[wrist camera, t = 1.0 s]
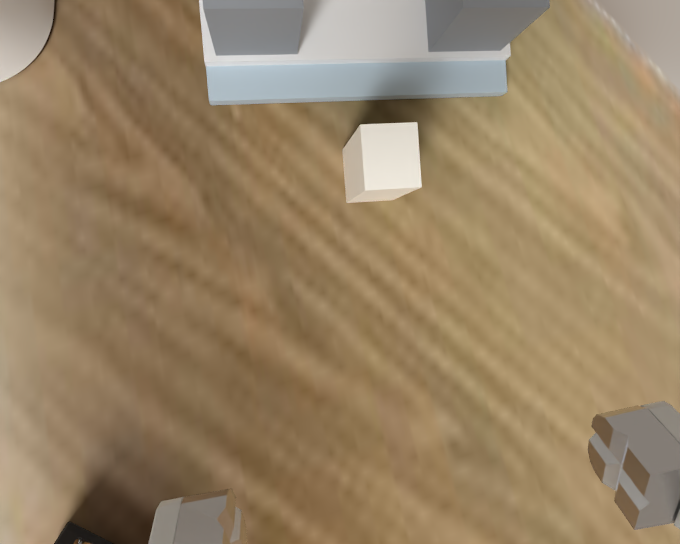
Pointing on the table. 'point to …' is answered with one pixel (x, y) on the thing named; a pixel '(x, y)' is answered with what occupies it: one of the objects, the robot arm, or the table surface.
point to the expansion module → (382, 162)
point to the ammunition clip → (78, 536)
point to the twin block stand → (359, 48)
